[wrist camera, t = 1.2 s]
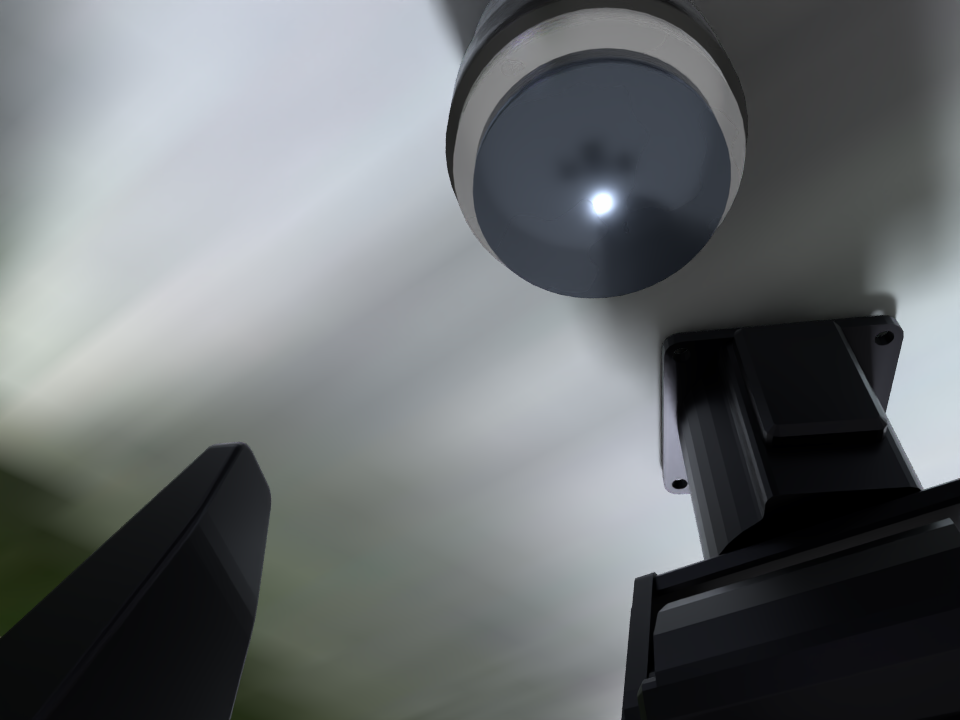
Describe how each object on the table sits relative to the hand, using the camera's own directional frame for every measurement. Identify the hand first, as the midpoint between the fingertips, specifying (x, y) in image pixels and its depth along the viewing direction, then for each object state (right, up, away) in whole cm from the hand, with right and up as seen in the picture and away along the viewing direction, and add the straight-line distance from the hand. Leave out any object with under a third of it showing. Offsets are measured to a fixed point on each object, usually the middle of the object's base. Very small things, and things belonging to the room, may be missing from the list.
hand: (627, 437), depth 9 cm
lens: (+1, +8, +9) cm, 12 cm away
